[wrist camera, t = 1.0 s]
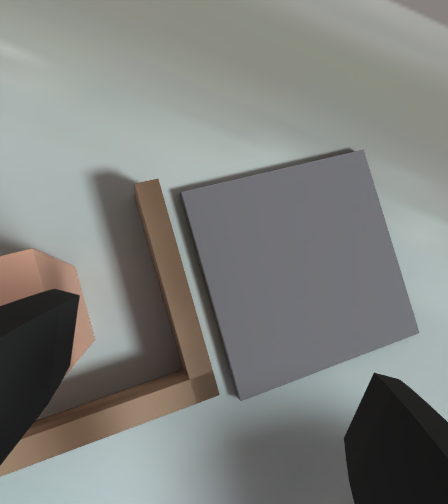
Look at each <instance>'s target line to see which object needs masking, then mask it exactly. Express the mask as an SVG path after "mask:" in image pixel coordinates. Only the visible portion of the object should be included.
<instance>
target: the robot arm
mask: <svg viewBox="0 0 448 504" xmlns="http://www.w3.org/2000/svg"><path fill="white" fill-rule="evenodd" d="M79 298H80V295H77V294H73V293H70V292H66V291H62V290H58V289H51V290H47V291H44V292H41V293H37V294H34V295H31V296H28V297H25V298H22V299H19V300H16V301H13V302H11V303H8V304H5V305H2V306H0V466H1V464H2V463H3V462H4V460H5V459H6V458H7V456H8V455H9V454H10V453H11V451H12V450H13V449H14V447H15V446H16V445H17V444H18V442H19V441H20V440H21V438H22V437H23V436H24V434H25V433H26V432H27V431H28V429H29V428H30V427H31V425H32V424H33V423H34V421H35V420H36V419H37V417H38V416H39V415H40V414H41V412H42V411H43V410H44V408H45V407H46V406H47V404H48V403H49V401H50V400H51V398H52V396H53V395H54V393H55V391H56V390H57V388H58V386H59V385H60V383H61V381H62V379H63V378H64V376H65V374H66V372H67V371H68V369H69V367H70V364H71V356H72V349H73V342H74V334H75V327H76V320H77V312H78V305H79ZM344 442H345V452H346V461H347V469H348V476H349V482H350V487H351V491H352V495H353V499H354V503H355V504H448V422H447V421H446V420H445V419H444V418H443V417H442V416H441V415H440V414H438V413H437V412H436V411H435V410H434V409H433V408H432V407H431V406H430V405H429V404H428V403H427V402H425V401H424V400H423V399H422V398H421V397H420V396H419V395H418V394H417V393H415V392H414V391H413V390H412V389H411V388H410V387H408V386H407V385H406V384H405V383H403V382H402V381H401V380H399V379H396V378H392V377H388V376H385V375H381V374H377V373H374V374H373V376H372V378H371V381H370V383H369V385H368V387H367V389H366V391H365V394H364V396H363V398H362V400H361V402H360V404H359V407H358V409H357V411H356V413H355V415H354V417H353V420H352V422H351V424H350V426H349V428H348V430H347V433H346V435H345V437H344Z"/></svg>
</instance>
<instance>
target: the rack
mask: <svg viewBox="0 0 448 504" xmlns="http://www.w3.org/2000/svg"><path fill="white" fill-rule="evenodd" d="M135 199H136V203H137V206H138V210H139V214H140V217H141V221H142V224H143V228H144V231H145V235H146V238H147V242H148V246H149V249H150V253H151V256H152V260H153V263H154V267H155V270H156V274H157V278H158V281H159V285H160V288H161V292H162V295H163V299H164V302H165V306H166V310H167V313H168V317H169V320H170V324H171V327H172V331H173V334H174V338H175V342H176V345H177V349H178V352H179V356H180V359H181V363H182V366H183V370H181V371H178V372H175V373H173V374H170V375H167V376H164V377H161V378H158V379H155V380H152V381H150V382H147V383H144V384H141V385H138V386H135V387H132V388H129V389H127V390H124V391H121V392H118V393H115V394H112V395H109V396H106V397H103V398H101V399H98V400H95V401H92V402H89V403H86V404H83V405H80V406H78V407H75V408H72V409H69V410H66V411H63V412H60V413H57V414H55V415H52V416H49V417H46V418H43V419H40V420H37V421H34V423H33V424H32V425H31V427H30V428H29V429H28V431H27V432H26V433H25V434H24V436H23V437H22V438H21V440H20V441H19V442H18V444H17V445H16V446H15V447H14V449H13V450H12V451H11V453H10V454H9V455H8V456H7V458H6V459H5V460H4V462H3V463H2V464H1V466H0V476H3V475H6V474H9V473H11V472H14V471H17V470H19V469H22V468H25V467H27V466H30V465H33V464H35V463H38V462H41V461H43V460H46V459H49V458H52V457H54V456H57V455H60V454H62V453H65V452H68V451H70V450H73V449H76V448H78V447H81V446H84V445H86V444H89V443H92V442H94V441H97V440H100V439H103V438H105V437H108V436H111V435H113V434H116V433H119V432H121V431H124V430H127V429H129V428H132V427H135V426H137V425H140V424H143V423H146V422H148V421H151V420H154V419H156V418H159V417H162V416H164V415H167V414H170V413H172V412H175V411H178V410H180V409H183V408H186V407H189V406H191V405H194V404H197V403H199V402H202V401H205V400H207V399H210V398H213V397H215V396H218V395H219V391H218V388H217V384H216V381H215V377H214V374H213V370H212V366H211V363H210V359H209V356H208V352H207V349H206V345H205V342H204V338H203V335H202V331H201V328H200V324H199V321H198V317H197V314H196V310H195V307H194V303H193V300H192V296H191V293H190V289H189V285H188V282H187V278H186V275H185V271H184V268H183V264H182V261H181V257H180V254H179V250H178V247H177V243H176V240H175V236H174V233H173V229H172V226H171V222H170V219H169V215H168V212H167V208H166V205H165V201H164V197H163V194H162V190H161V187H160V183H159V180H158V179H154V180H150V181H145V182H141V183H136V184H135Z"/></svg>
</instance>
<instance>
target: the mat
mask: <svg viewBox="0 0 448 504" xmlns="http://www.w3.org/2000/svg"><path fill="white" fill-rule="evenodd" d="M180 196H181V200H182V203H183V207H184V210H185V214H186V217H187V221H188V224H189V228H190V231H191V235H192V238H193V242H194V245H195V249H196V252H197V256H198V259H199V263H200V266H201V270H202V273H203V277H204V280H205V284H206V287H207V291H208V294H209V298H210V301H211V305H212V308H213V312H214V315H215V319H216V322H217V326H218V329H219V333H220V336H221V340H222V343H223V347H224V350H225V354H226V357H227V361H228V364H229V368H230V371H231V375H232V378H233V382H234V385H235V389H236V392H237V396H238V398H239V399H240V400H241V401H242V400H245V399H247V398H250V397H253V396H255V395H258V394H261V393H263V392H266V391H268V390H271V389H274V388H276V387H279V386H282V385H284V384H287V383H289V382H292V381H295V380H297V379H300V378H303V377H305V376H308V375H310V374H313V373H316V372H318V371H321V370H323V369H326V368H329V367H331V366H334V365H337V364H339V363H342V362H344V361H347V360H350V359H352V358H355V357H358V356H360V355H363V354H365V353H368V352H371V351H373V350H376V349H379V348H381V347H384V346H386V345H389V344H392V343H394V342H397V341H399V340H402V339H405V338H407V337H410V336H413V335H415V334H418V333H419V330H418V327H417V324H416V320H415V317H414V314H413V310H412V307H411V304H410V301H409V297H408V294H407V291H406V287H405V284H404V281H403V278H402V274H401V271H400V268H399V264H398V261H397V258H396V255H395V251H394V248H393V245H392V242H391V238H390V235H389V232H388V228H387V225H386V222H385V219H384V215H383V212H382V209H381V205H380V202H379V199H378V196H377V192H376V189H375V186H374V182H373V179H372V176H371V173H370V169H369V166H368V163H367V160H366V156H365V153H364V150H359V151H355V152H350V153H346V154H342V155H338V156H333V157H329V158H325V159H320V160H316V161H312V162H307V163H303V164H299V165H294V166H290V167H286V168H282V169H277V170H273V171H269V172H264V173H260V174H256V175H251V176H247V177H243V178H238V179H234V180H230V181H226V182H221V183H217V184H213V185H208V186H204V187H200V188H195V189H191V190H187V191H182V192H181V193H180Z"/></svg>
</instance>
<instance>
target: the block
mask: <svg viewBox="0 0 448 504" xmlns="http://www.w3.org/2000/svg"><path fill="white" fill-rule="evenodd" d="M51 289H58V290H62V291H66V292H70V293H73V294H77V295H80V298H79V305H78V312H77V320H76V327H75V334H74V342H73V349H72V356H71V364H70V367H69V369H68V371H67V372H66V374H67V373H68V372H69V371H70V369H71V368H72V367H73V366H74V365H75V363H76V362H77V361H78V360H79V359H80V357H81V356H82V355H83V354H84V353H85V351H86V350H87V349H88V348H89V347H90V345H91V344H92V343H93V342H94V340H95V337H94V334H93V330H92V326H91V323H90V319H89V315H88V312H87V308H86V304H85V301H84V297H83V293H82V290H81V286H80V282H79V279H78V275H77V271H76V268H75V267H74V266H72V265H70V264H67V263H65V262H63V261H61V260H58V259H56V258H54V257H51V256H49V255H47V254H44V253H42V252H40V251H37V250H35V249H33V248H32V249H28V250H23V251H19V252H15V253H11V254H7V255H3V256H0V306H2V305H5V304H8V303H11V302H13V301H16V300H19V299H22V298H25V297H28V296H31V295H34V294H37V293H41V292H44V291H47V290H51ZM66 374H65V375H66Z"/></svg>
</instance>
